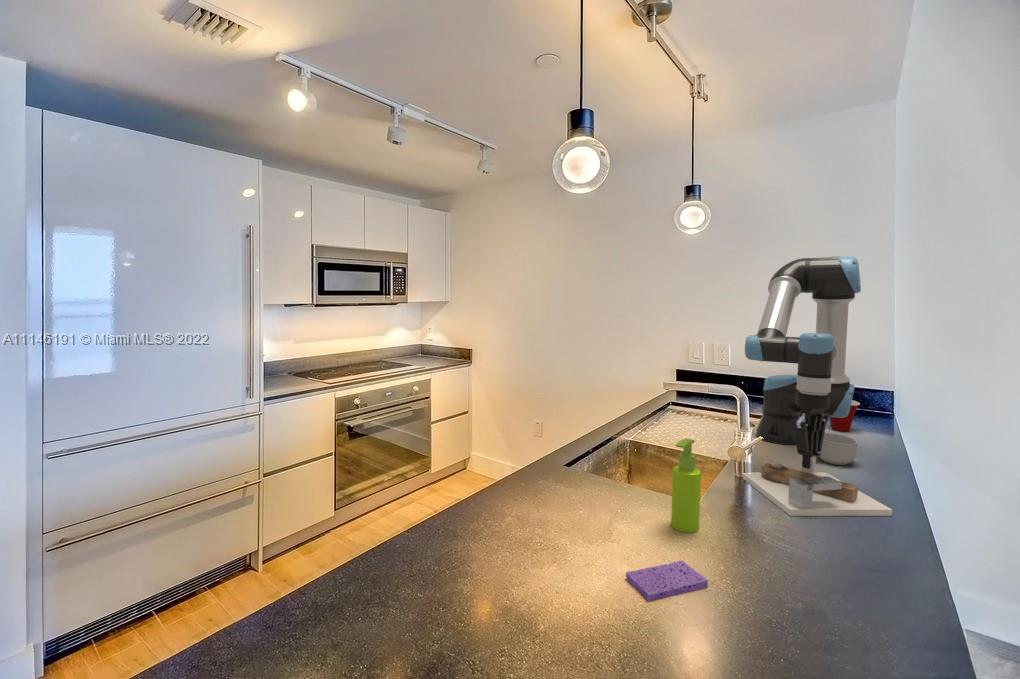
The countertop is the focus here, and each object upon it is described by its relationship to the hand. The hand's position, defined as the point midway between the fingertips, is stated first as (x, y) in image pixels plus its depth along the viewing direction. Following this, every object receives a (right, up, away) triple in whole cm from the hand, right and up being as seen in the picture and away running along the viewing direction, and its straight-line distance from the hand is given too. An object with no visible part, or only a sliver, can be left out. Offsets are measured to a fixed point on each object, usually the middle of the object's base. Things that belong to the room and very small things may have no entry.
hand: (807, 478), depth 125 cm
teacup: (+21, -1, +21) cm, 30 cm away
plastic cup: (+49, +2, +56) cm, 74 cm away
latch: (-2, -1, -2) cm, 3 cm away
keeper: (-6, -4, -12) cm, 14 cm away
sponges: (-51, -7, -40) cm, 66 cm away
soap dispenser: (-41, -5, -20) cm, 46 cm away
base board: (-2, -3, -3) cm, 5 cm away
